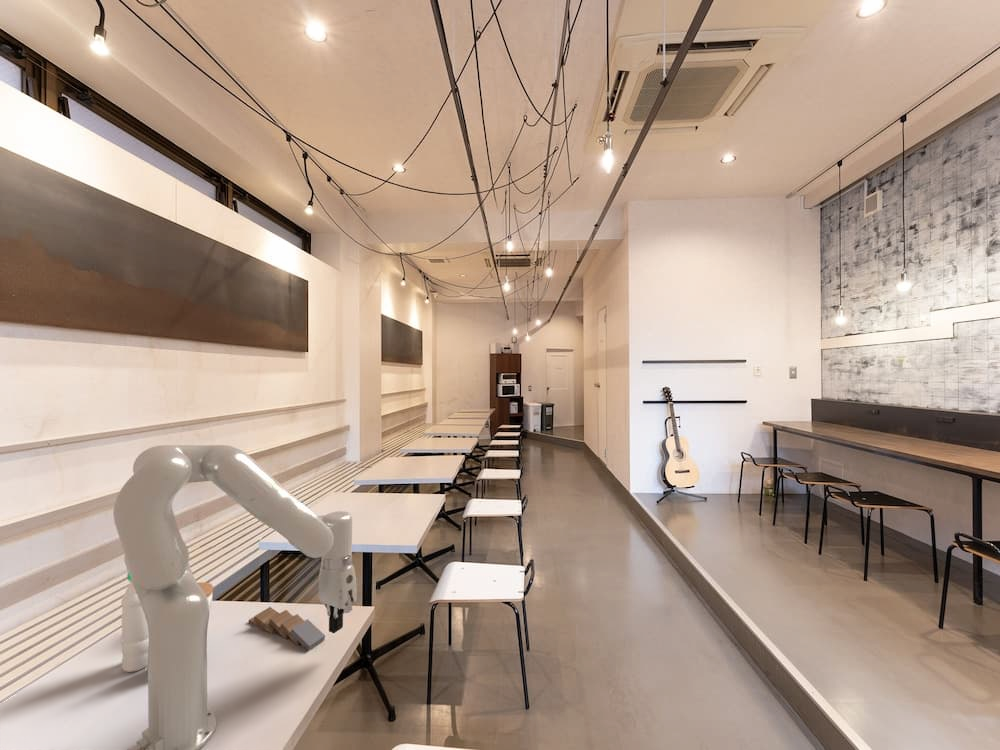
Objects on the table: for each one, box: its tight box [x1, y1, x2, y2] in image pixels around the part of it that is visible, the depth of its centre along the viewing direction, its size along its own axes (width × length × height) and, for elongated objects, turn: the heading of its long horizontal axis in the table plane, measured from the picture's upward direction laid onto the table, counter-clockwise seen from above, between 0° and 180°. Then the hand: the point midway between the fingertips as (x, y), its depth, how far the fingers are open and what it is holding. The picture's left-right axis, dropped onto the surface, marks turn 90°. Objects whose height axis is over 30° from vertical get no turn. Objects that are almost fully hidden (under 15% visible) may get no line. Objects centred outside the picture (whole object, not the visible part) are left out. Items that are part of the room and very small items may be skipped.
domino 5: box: [291, 618, 326, 652], centre depth 114 cm, size 2×5×8 cm
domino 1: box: [248, 616, 267, 631], centre depth 123 cm, size 2×5×8 cm
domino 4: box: [280, 614, 305, 646], centre depth 117 cm, size 2×5×8 cm
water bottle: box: [121, 572, 149, 673], centre depth 106 cm, size 7×7×25 cm
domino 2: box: [253, 606, 280, 635], centre depth 121 cm, size 2×5×8 cm
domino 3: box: [269, 609, 294, 640], centre depth 119 cm, size 2×5×8 cm
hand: (335, 629), depth 108 cm, fingers closed
